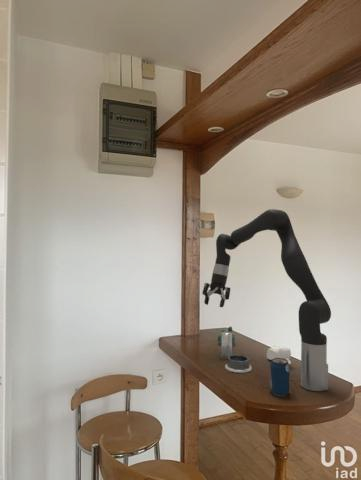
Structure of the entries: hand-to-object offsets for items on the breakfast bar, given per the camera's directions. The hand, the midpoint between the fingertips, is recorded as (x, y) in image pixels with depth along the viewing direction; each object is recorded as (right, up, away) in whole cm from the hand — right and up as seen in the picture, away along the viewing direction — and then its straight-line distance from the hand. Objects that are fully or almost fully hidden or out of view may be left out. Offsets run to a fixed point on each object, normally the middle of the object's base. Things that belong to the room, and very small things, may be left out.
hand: (213, 305), depth 175 cm
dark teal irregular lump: (+8, -25, +17) cm, 31 cm away
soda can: (+20, -24, -46) cm, 55 cm away
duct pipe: (+6, -24, -6) cm, 25 cm away
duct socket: (+9, -24, -20) cm, 32 cm away
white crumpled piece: (+29, -25, -12) cm, 40 cm away
